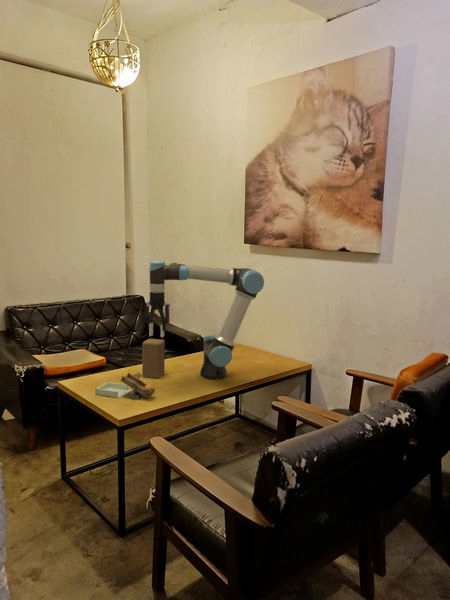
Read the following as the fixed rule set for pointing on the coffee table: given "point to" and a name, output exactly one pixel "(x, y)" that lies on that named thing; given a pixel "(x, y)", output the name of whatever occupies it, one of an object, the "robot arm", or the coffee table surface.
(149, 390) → the ball
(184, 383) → the coffee table surface
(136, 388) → the lever
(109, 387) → the tray
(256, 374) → the coffee table surface
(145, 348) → the wooden block
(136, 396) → the fulcrum
